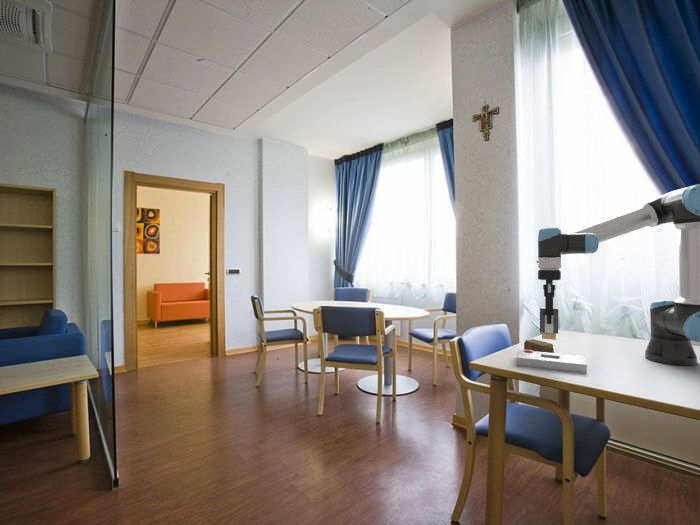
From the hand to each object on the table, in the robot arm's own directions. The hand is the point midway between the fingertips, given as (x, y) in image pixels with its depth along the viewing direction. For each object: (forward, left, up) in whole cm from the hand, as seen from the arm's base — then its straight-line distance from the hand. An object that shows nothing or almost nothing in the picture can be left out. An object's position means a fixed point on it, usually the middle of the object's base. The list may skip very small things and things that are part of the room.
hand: (548, 331), depth 136 cm
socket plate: (0, 0, -13) cm, 13 cm away
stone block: (+4, -17, -13) cm, 22 cm away
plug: (0, 0, -3) cm, 3 cm away
